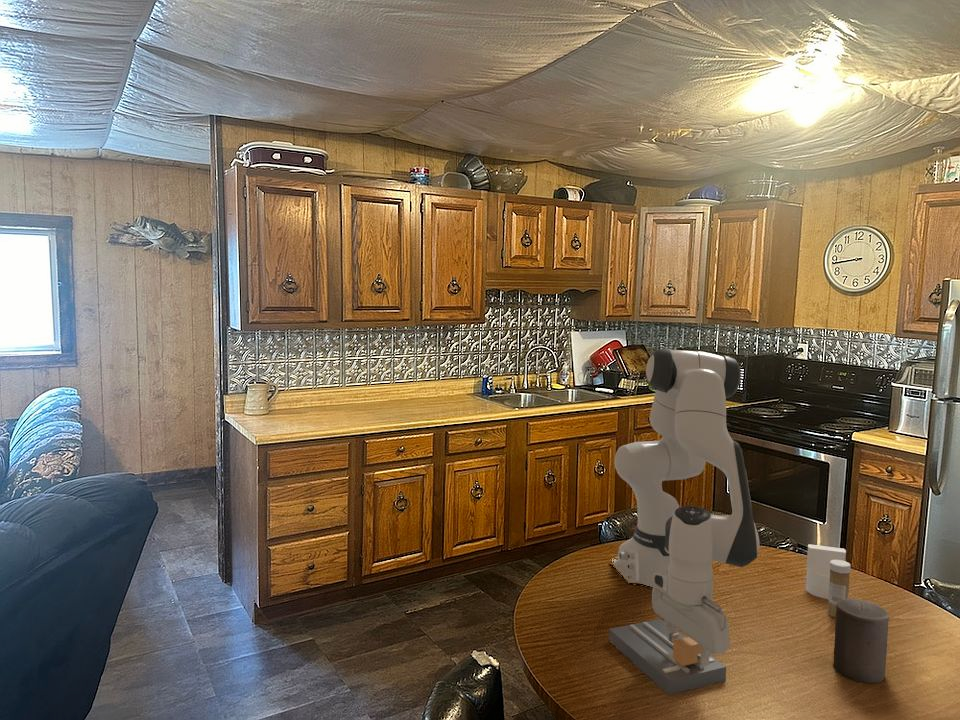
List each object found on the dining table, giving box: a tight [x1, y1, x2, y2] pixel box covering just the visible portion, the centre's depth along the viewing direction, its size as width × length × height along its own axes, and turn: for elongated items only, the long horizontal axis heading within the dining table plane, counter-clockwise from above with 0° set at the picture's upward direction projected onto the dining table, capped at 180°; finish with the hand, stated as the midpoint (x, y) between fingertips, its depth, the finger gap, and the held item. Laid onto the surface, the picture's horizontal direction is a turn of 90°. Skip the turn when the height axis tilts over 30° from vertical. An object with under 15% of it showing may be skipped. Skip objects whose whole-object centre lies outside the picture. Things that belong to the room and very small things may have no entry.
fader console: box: [608, 618, 727, 696], centre depth 145 cm, size 22×14×4 cm, turn 21°
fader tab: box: [673, 636, 703, 666], centre depth 138 cm, size 3×5×5 cm, turn 111°
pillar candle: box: [832, 598, 890, 684], centre depth 141 cm, size 10×10×15 cm
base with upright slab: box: [805, 543, 847, 600], centre depth 179 cm, size 9×9×12 cm
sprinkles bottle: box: [827, 560, 852, 619], centre depth 166 cm, size 5×5×14 cm
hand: (687, 652), depth 138 cm, fingers open, 8 cm apart
